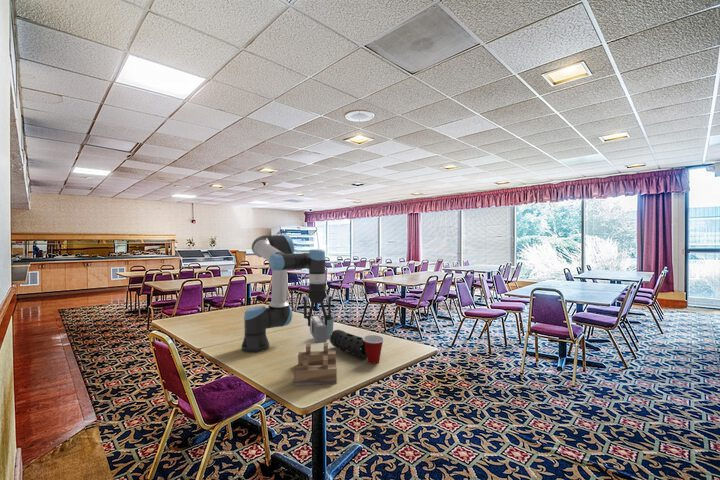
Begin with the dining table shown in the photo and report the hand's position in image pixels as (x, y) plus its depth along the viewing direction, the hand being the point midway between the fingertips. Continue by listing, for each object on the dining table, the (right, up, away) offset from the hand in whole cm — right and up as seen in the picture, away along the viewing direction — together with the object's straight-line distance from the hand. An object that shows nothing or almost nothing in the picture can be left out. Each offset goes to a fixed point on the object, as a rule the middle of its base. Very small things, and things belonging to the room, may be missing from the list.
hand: (317, 332), depth 161 cm
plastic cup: (+26, -18, +13) cm, 35 cm away
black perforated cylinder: (+14, -18, +28) cm, 36 cm away
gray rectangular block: (0, -1, 0) cm, 1 cm away
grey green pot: (-2, -19, +59) cm, 62 cm away
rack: (0, -18, -1) cm, 18 cm away
